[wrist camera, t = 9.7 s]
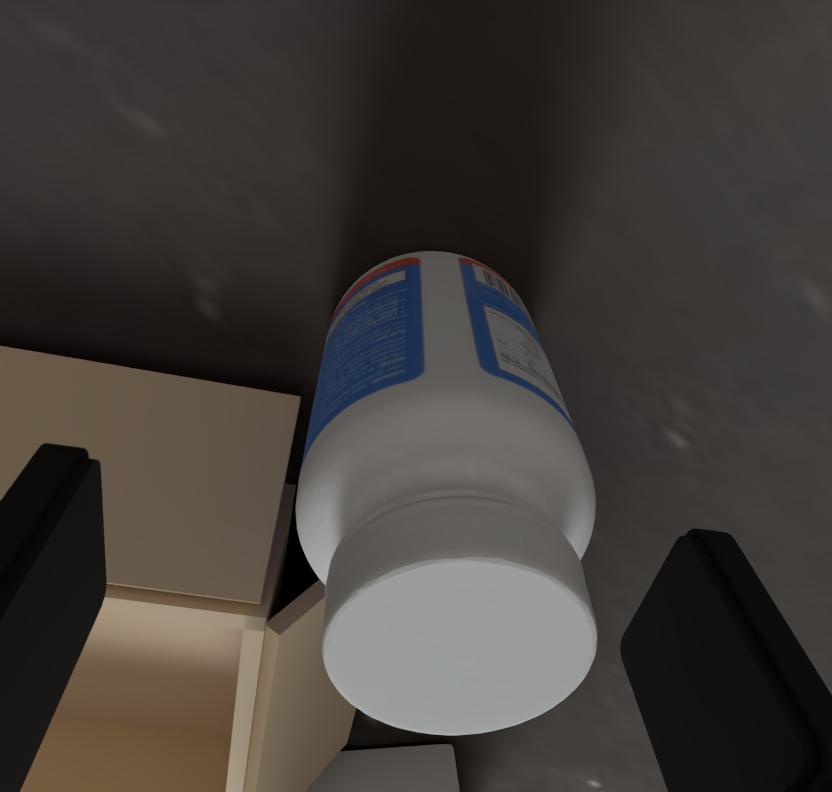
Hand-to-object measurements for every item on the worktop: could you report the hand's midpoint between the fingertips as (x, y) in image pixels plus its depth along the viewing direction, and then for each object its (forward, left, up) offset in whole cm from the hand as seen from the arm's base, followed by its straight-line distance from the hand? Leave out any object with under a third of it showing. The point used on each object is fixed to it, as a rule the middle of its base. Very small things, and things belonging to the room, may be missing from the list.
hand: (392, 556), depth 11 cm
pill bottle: (-1, 0, -8) cm, 8 cm away
